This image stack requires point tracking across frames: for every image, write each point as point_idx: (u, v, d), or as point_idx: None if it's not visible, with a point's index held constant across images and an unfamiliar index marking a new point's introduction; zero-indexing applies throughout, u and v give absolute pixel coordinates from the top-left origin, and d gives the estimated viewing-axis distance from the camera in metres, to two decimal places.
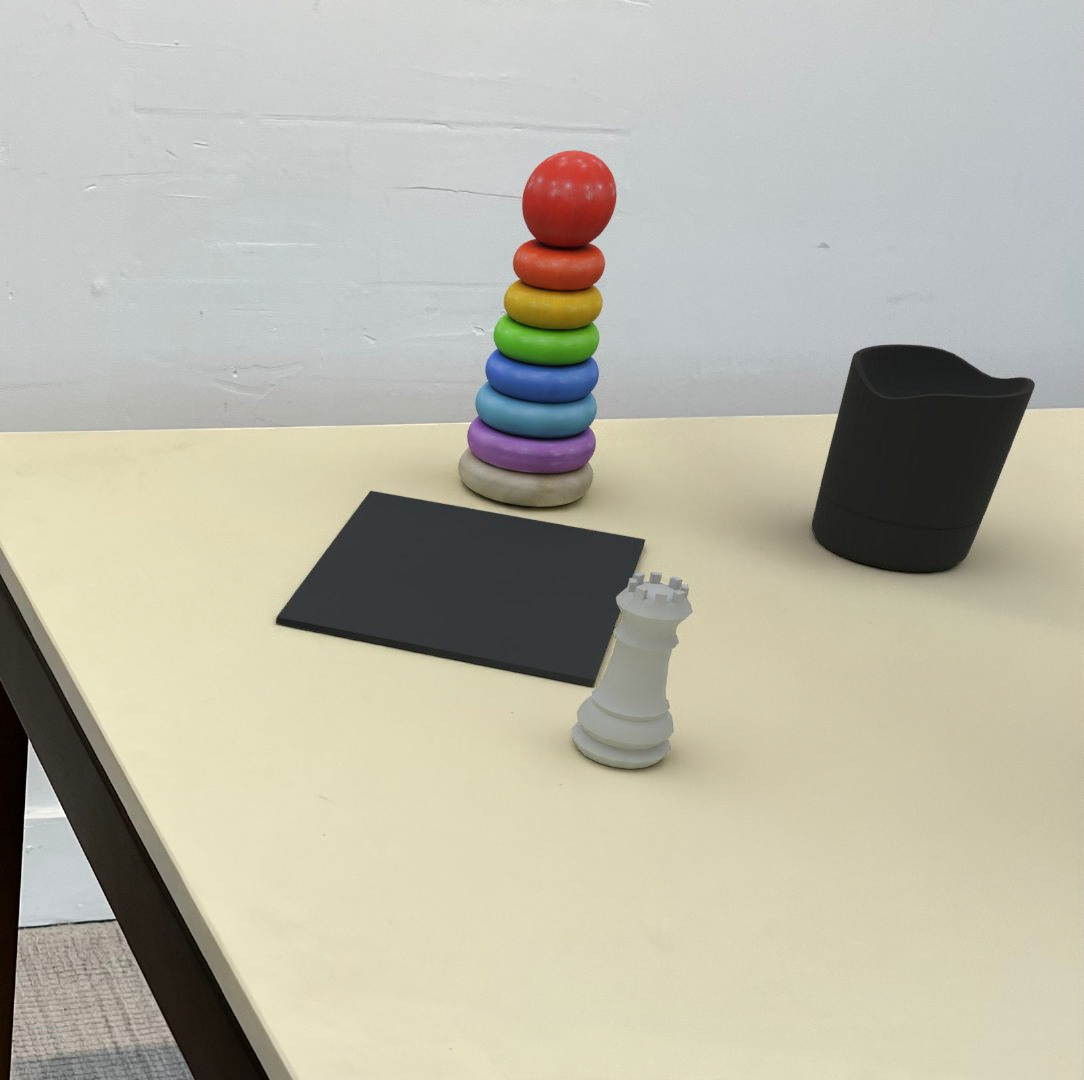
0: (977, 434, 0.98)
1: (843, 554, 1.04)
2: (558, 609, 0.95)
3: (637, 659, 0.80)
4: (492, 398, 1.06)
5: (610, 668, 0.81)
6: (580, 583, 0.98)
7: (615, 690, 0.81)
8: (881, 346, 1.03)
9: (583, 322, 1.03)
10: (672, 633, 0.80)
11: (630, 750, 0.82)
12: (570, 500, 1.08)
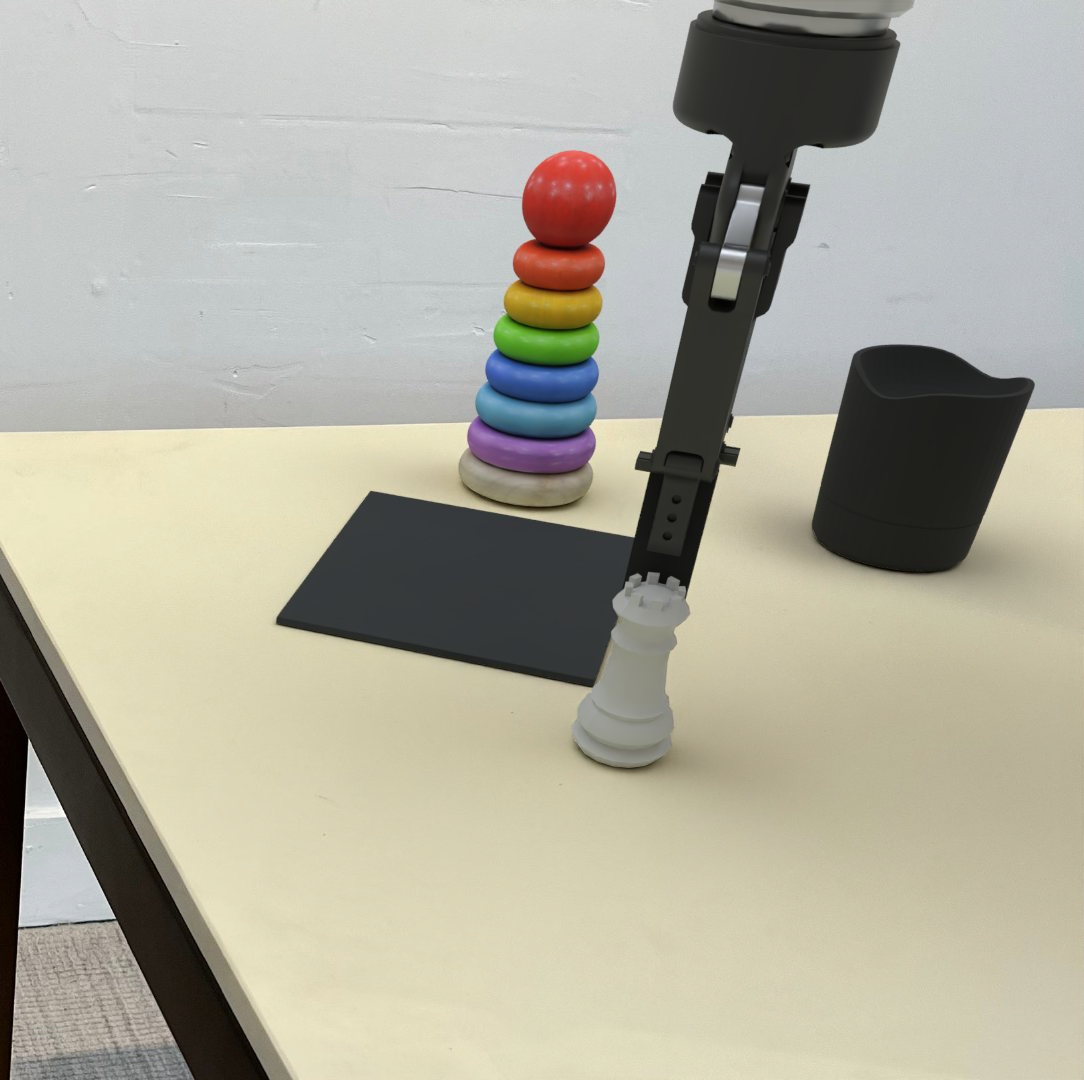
0: (977, 434, 0.98)
1: (843, 554, 1.04)
2: (558, 609, 0.95)
3: (635, 662, 0.79)
4: (492, 398, 1.06)
5: (608, 669, 0.81)
6: (580, 583, 0.98)
7: (614, 691, 0.81)
8: (881, 346, 1.03)
9: (583, 322, 1.03)
10: (670, 636, 0.79)
11: (630, 750, 0.82)
12: (570, 500, 1.08)
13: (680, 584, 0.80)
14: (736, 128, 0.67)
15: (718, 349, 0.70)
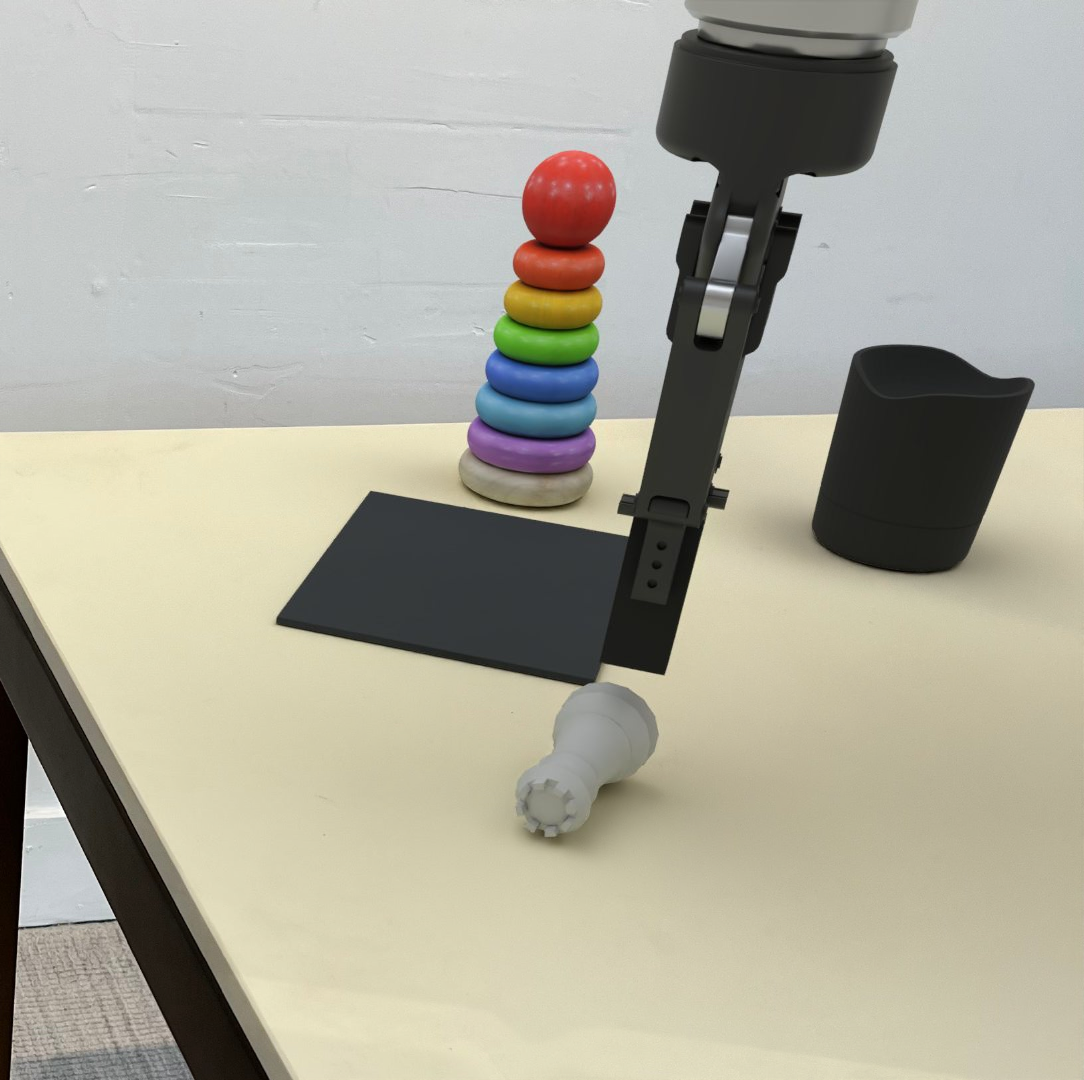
0: (977, 434, 0.98)
1: (843, 554, 1.04)
2: (558, 609, 0.95)
3: None
4: (492, 398, 1.06)
5: None
6: (580, 583, 0.98)
7: None
8: (881, 346, 1.03)
9: (583, 322, 1.03)
10: None
11: None
12: (570, 500, 1.08)
13: (666, 633, 0.75)
14: (723, 155, 0.63)
15: (704, 390, 0.66)
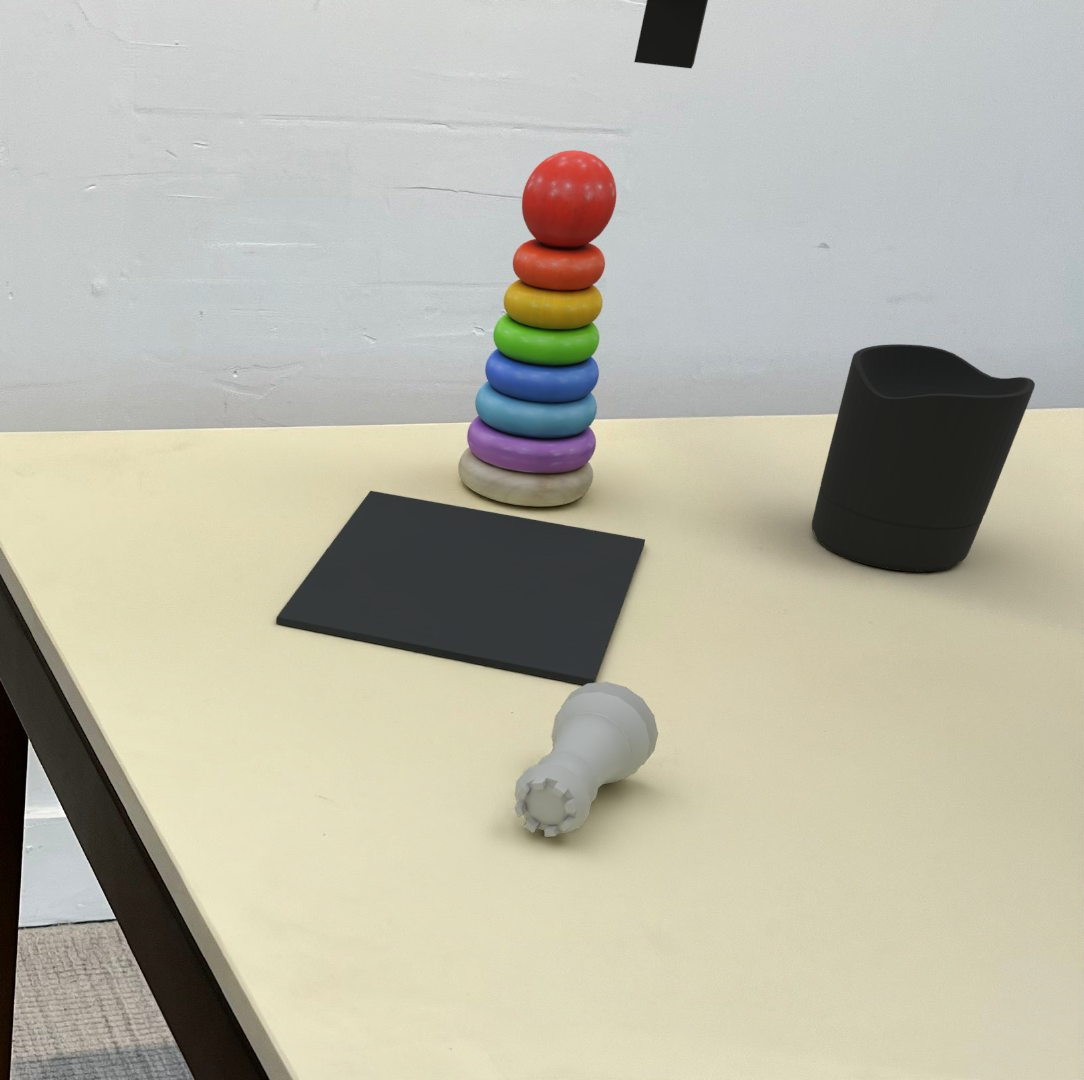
0: (977, 434, 0.98)
1: (843, 554, 1.04)
2: (558, 609, 0.95)
3: None
4: (492, 398, 1.06)
5: None
6: (580, 583, 0.98)
7: None
8: (881, 346, 1.03)
9: (583, 322, 1.03)
10: None
11: None
12: (570, 500, 1.08)
13: (693, 25, 0.87)
14: None
15: None
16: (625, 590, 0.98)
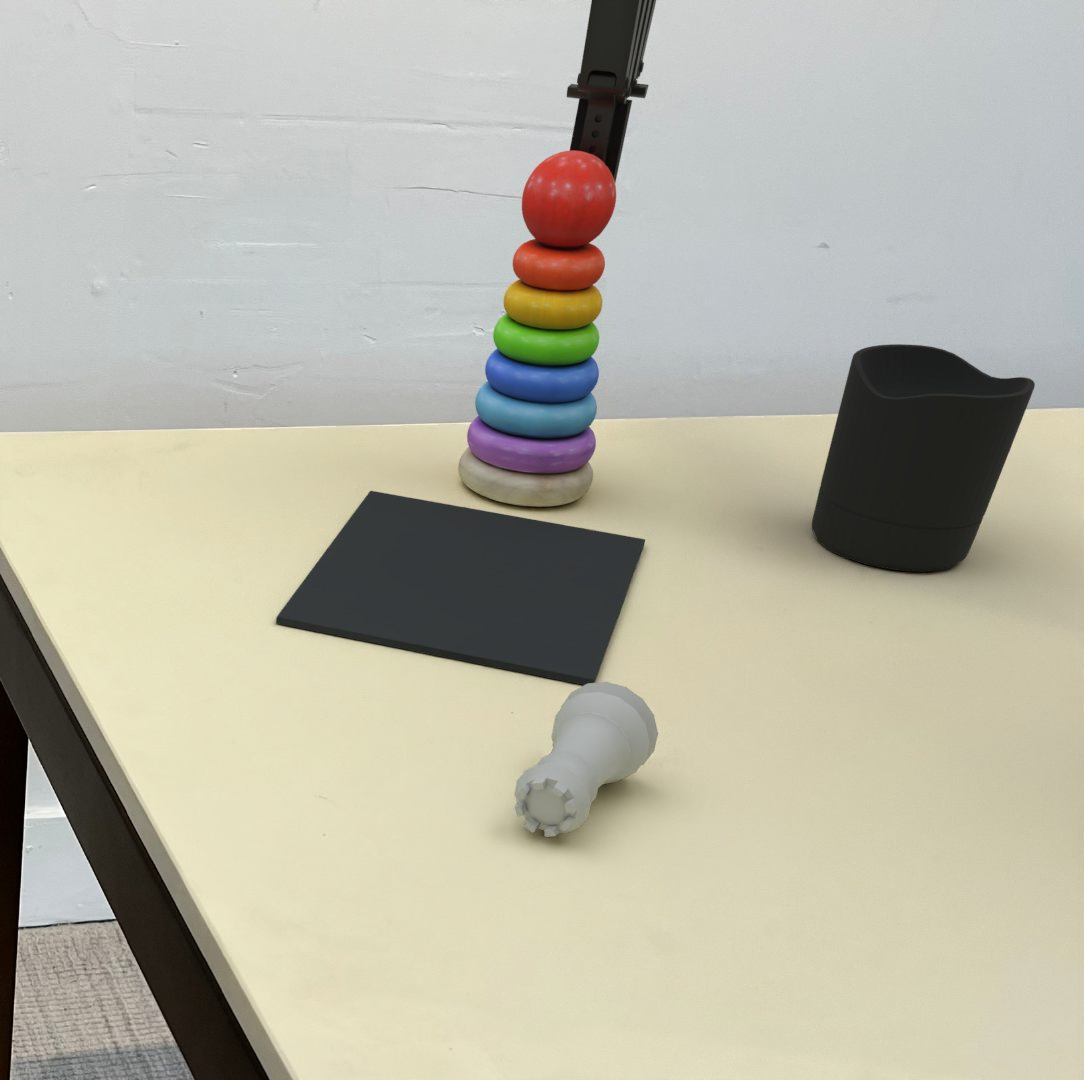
0: (977, 434, 0.98)
1: (843, 554, 1.04)
2: (558, 609, 0.95)
3: None
4: (492, 398, 1.06)
5: None
6: (580, 583, 0.98)
7: None
8: (881, 346, 1.03)
9: (583, 322, 1.03)
10: None
11: None
12: (570, 500, 1.08)
13: None
14: None
15: None
16: (625, 590, 0.98)
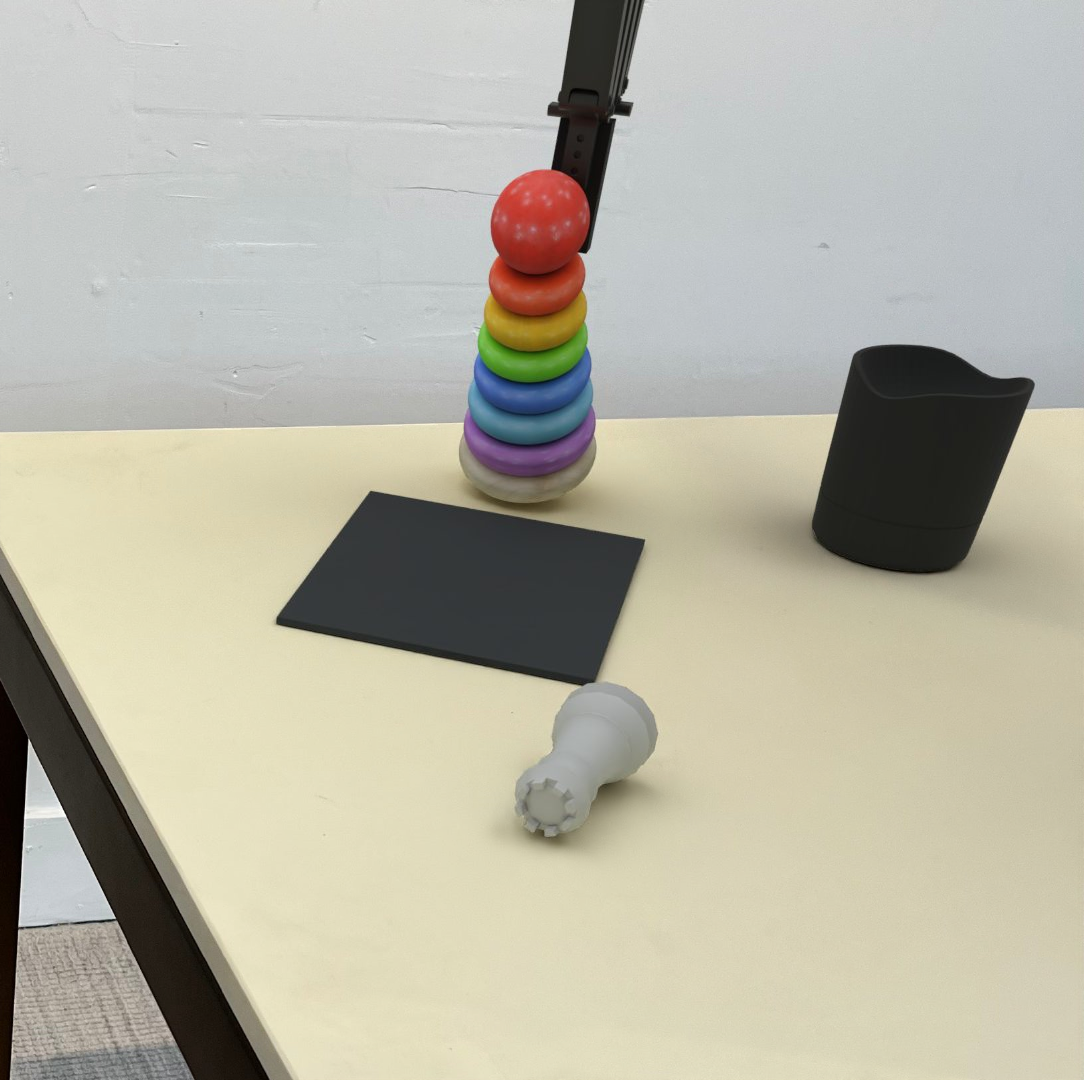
0: (977, 434, 0.98)
1: (843, 554, 1.04)
2: (558, 609, 0.95)
3: None
4: (482, 408, 1.05)
5: None
6: (580, 583, 0.98)
7: None
8: (881, 346, 1.03)
9: (566, 341, 1.00)
10: None
11: None
12: (571, 489, 1.07)
13: None
14: None
15: None
16: (625, 590, 0.98)
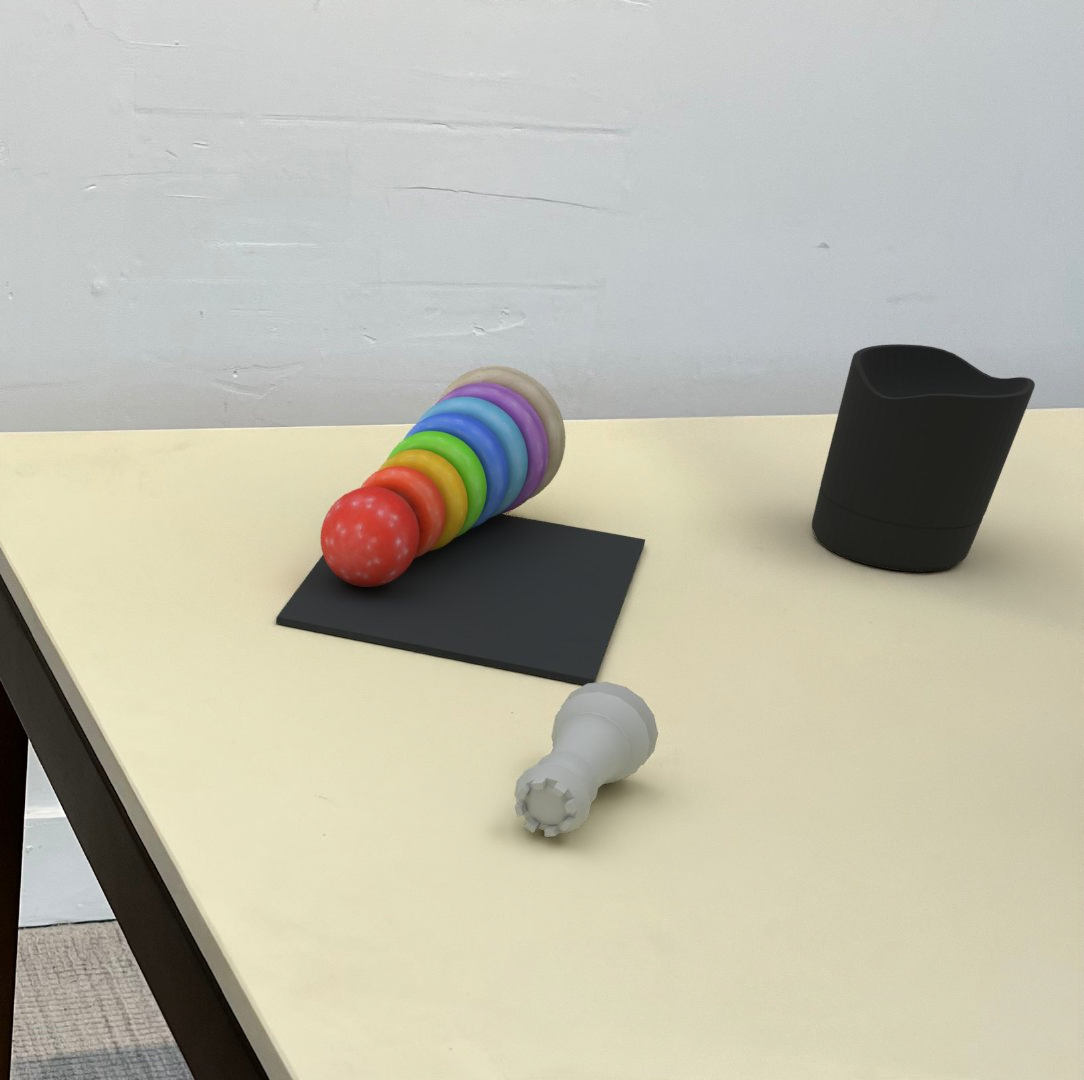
0: (977, 434, 0.98)
1: (843, 554, 1.04)
2: (558, 609, 0.95)
3: None
4: None
5: None
6: (580, 583, 0.98)
7: None
8: (881, 346, 1.03)
9: (461, 526, 0.99)
10: None
11: None
12: None
13: None
14: None
15: None
16: (625, 590, 0.98)
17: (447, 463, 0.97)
